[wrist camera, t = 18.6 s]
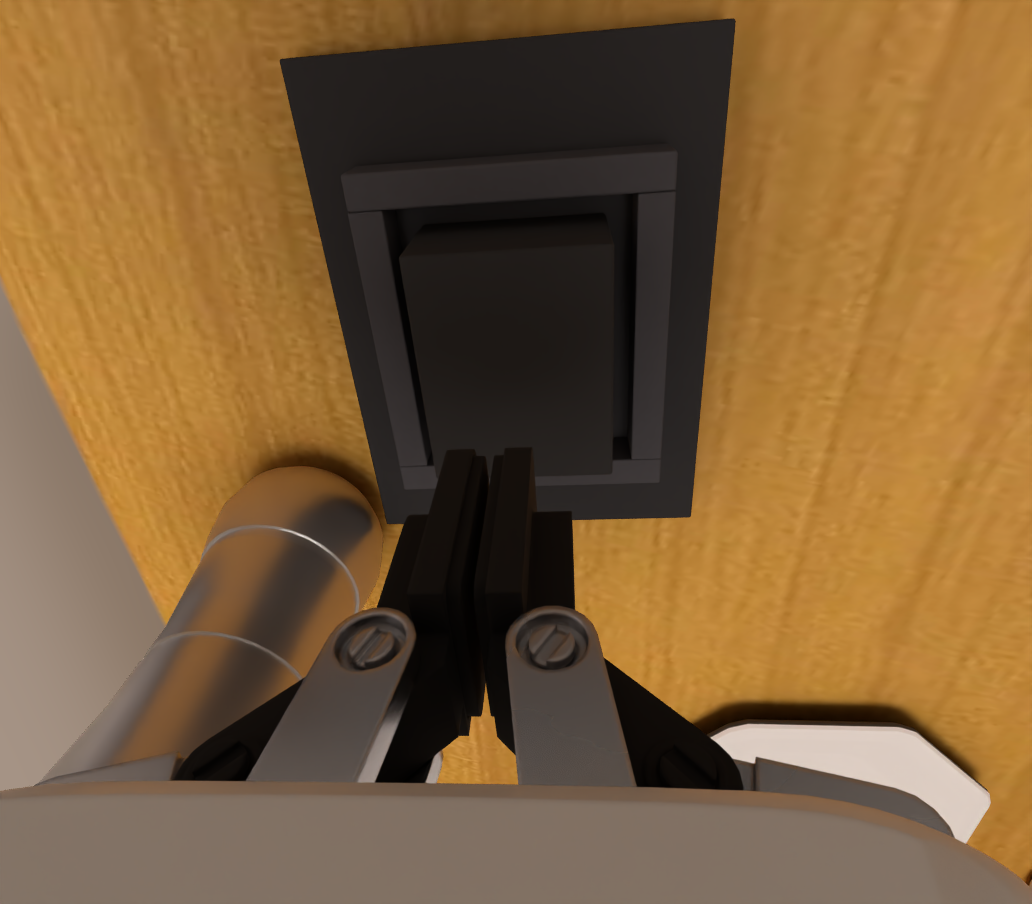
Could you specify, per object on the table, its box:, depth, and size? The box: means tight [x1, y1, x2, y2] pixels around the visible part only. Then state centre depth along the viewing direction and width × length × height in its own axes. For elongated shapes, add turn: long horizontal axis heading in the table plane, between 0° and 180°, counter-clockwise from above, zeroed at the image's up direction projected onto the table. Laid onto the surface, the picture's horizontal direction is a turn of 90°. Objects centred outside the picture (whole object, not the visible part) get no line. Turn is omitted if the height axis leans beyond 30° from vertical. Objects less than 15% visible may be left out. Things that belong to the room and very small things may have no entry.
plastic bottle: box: [40, 466, 383, 782], centre depth 19 cm, size 6×7×20 cm
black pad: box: [399, 213, 614, 479], centre depth 19 cm, size 7×6×4 cm
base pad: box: [280, 19, 736, 524], centre depth 21 cm, size 16×12×3 cm
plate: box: [707, 719, 991, 844], centre depth 37 cm, size 20×20×2 cm
